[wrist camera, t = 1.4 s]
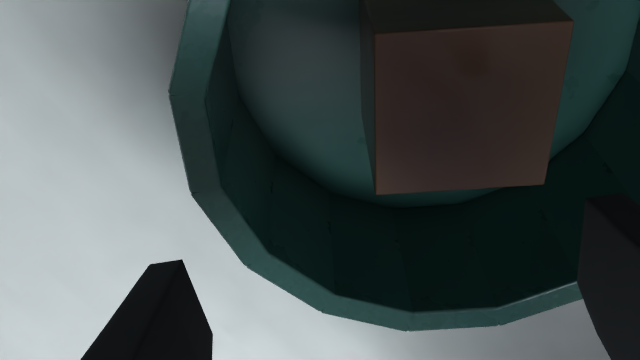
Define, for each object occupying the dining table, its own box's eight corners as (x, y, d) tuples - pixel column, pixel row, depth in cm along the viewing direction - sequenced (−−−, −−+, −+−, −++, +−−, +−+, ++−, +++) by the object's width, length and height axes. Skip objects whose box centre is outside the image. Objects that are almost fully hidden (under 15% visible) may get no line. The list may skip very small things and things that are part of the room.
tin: (747, 18, 18) (894, 101, 14) (419, 271, 24) (447, 389, 19) (450, -387, 13) (529, -468, 9) (117, 60, 19) (58, 155, 14)
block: (516, -35, 17) (576, 20, 13) (499, 106, 19) (544, 185, 16) (358, -25, 17) (374, 33, 13) (361, 115, 19) (375, 196, 16)
